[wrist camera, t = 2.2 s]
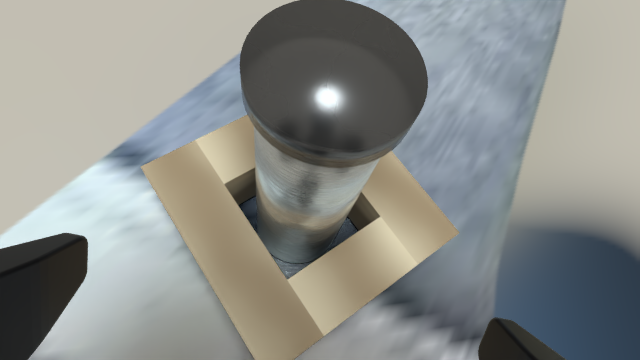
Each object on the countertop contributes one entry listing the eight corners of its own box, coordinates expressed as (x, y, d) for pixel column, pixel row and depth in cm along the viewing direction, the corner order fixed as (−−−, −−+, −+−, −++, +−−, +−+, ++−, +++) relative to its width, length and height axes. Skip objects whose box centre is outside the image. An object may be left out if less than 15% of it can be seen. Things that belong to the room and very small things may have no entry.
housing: (265, 377, 19) (266, 379, 16) (158, 195, 22) (140, 166, 19) (431, 251, 23) (459, 232, 19) (320, 111, 26) (328, 75, 22)
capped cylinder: (284, 287, 21) (313, 185, 9) (234, 211, 22) (203, 36, 10) (359, 236, 22) (465, 94, 11) (308, 168, 24) (353, -23, 12)
